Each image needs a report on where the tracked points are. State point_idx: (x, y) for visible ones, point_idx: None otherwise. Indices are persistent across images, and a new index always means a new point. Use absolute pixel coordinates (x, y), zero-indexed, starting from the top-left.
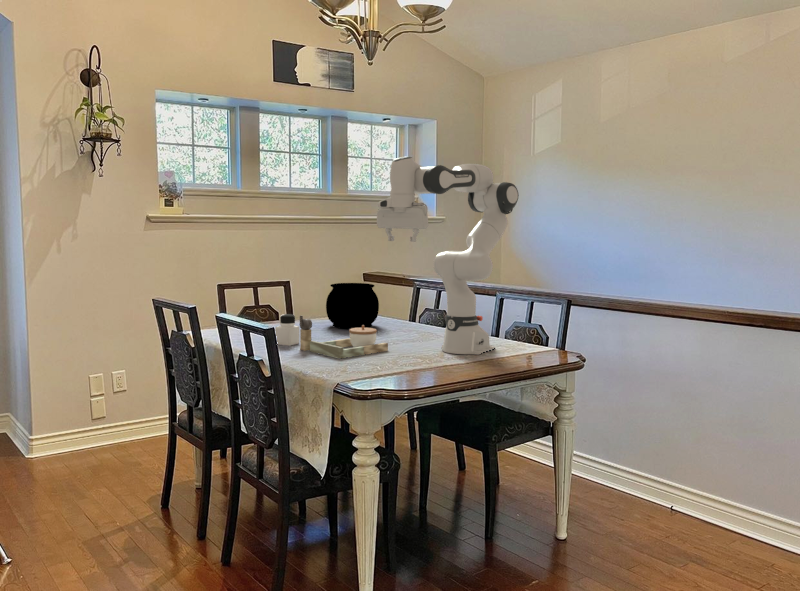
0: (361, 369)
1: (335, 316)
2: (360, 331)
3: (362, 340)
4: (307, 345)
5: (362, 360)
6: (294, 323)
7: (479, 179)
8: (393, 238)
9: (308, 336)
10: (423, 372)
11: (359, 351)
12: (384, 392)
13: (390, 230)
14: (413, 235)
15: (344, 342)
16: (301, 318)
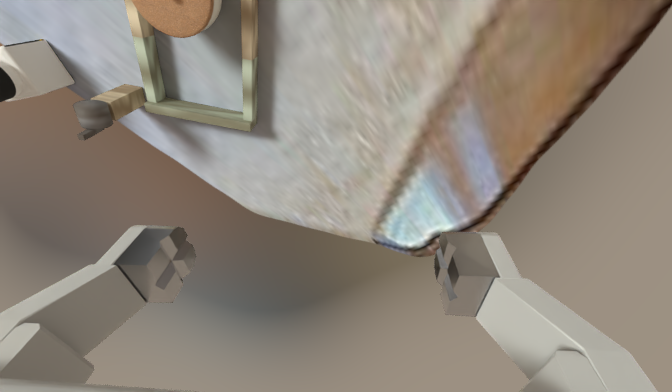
0: (347, 167)
1: None
2: (194, 29)
3: (211, 24)
4: (137, 101)
5: (298, 108)
6: (5, 69)
7: None
8: (164, 247)
9: (123, 105)
10: (455, 125)
11: (254, 72)
12: None
13: (60, 356)
14: (503, 335)
15: None
16: (89, 136)
